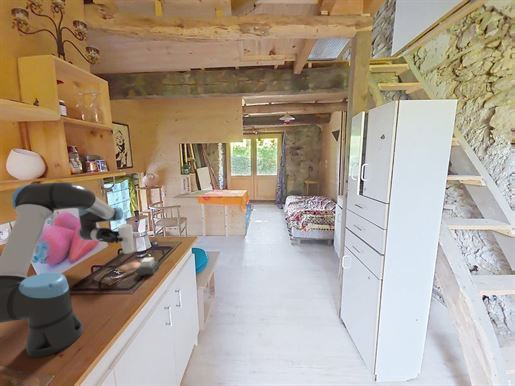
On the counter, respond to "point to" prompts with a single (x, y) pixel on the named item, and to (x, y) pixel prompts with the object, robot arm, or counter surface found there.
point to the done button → (147, 262)
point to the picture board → (127, 267)
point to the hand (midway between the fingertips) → (133, 237)
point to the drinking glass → (128, 232)
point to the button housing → (148, 269)
